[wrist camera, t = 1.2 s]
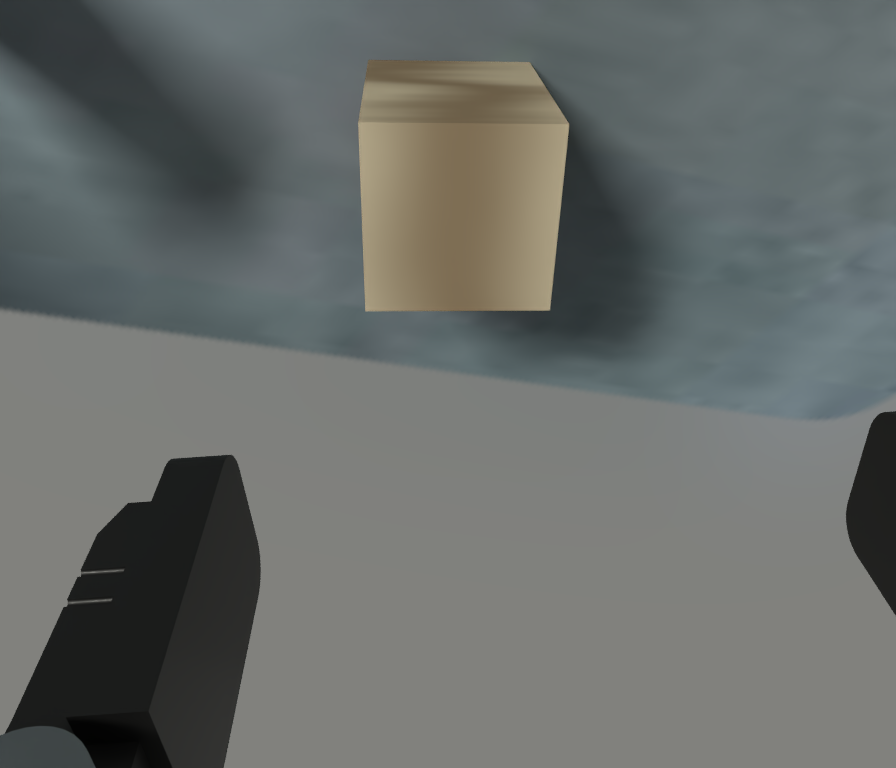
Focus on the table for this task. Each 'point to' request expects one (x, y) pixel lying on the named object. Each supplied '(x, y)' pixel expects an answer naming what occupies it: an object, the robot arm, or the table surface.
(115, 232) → the table surface
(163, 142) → the table surface
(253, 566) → the robot arm
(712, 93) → the table surface
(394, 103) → the maple block
